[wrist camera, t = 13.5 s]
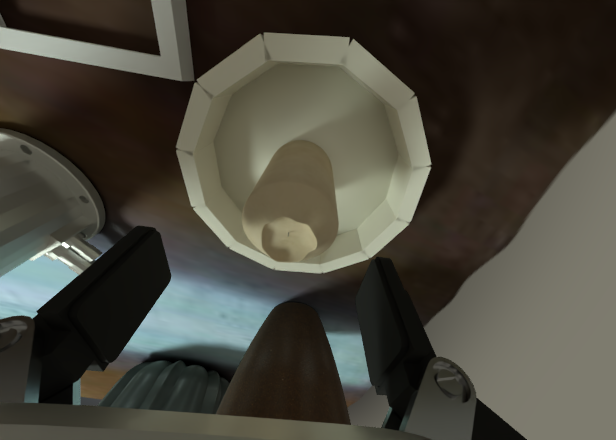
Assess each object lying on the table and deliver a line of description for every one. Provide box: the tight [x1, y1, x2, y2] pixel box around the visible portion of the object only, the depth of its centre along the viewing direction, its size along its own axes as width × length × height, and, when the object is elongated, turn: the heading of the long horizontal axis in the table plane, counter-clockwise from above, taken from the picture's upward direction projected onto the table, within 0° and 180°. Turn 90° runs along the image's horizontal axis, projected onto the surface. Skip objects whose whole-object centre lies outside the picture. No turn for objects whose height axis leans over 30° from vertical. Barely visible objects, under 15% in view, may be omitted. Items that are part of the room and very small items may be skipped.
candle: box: [242, 140, 339, 263], centre depth 15 cm, size 6×6×10 cm
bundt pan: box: [97, 360, 230, 414], centre depth 44 cm, size 26×26×10 cm
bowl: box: [176, 32, 431, 273], centre depth 18 cm, size 18×18×4 cm
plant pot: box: [216, 302, 351, 425], centre depth 26 cm, size 15×15×16 cm
